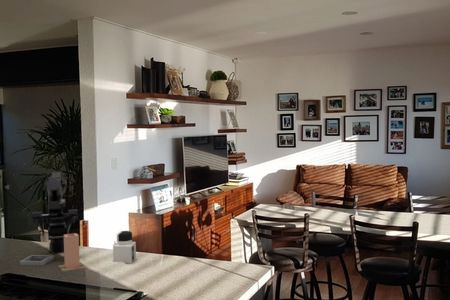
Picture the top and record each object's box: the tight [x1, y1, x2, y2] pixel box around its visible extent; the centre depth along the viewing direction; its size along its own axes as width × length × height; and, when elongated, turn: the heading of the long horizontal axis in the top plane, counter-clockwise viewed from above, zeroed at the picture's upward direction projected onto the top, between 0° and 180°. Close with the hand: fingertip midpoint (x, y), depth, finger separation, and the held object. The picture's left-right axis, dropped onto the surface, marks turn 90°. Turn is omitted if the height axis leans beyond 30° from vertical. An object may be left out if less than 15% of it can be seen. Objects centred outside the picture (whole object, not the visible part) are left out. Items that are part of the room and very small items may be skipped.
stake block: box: [58, 261, 86, 272], centre depth 186 cm, size 9×9×4 cm
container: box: [112, 230, 137, 265], centre depth 195 cm, size 8×8×13 cm
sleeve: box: [63, 233, 81, 269], centre depth 185 cm, size 5×5×13 cm
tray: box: [19, 254, 55, 266], centre depth 194 cm, size 10×10×2 cm
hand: (55, 234), depth 191 cm, fingers open, 9 cm apart
